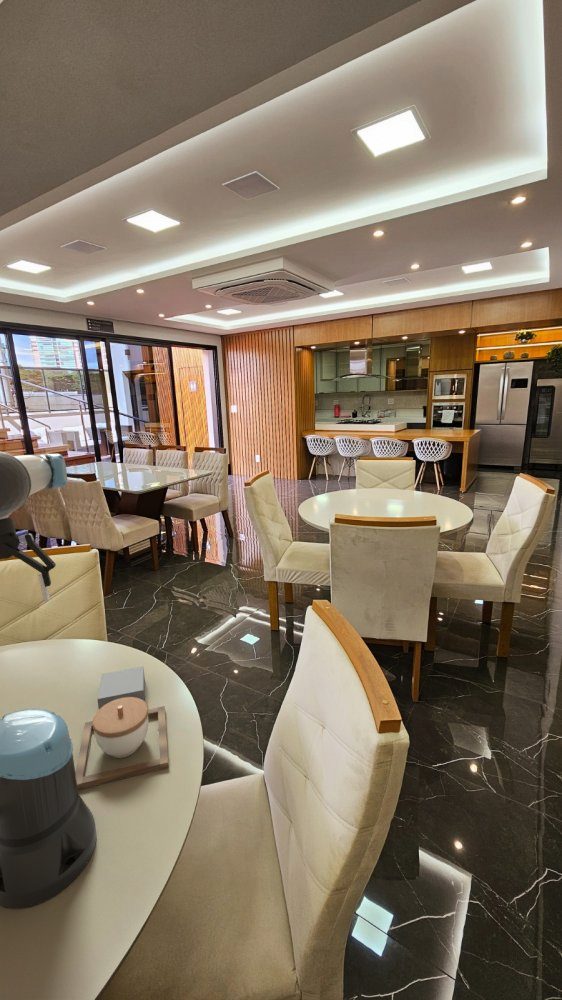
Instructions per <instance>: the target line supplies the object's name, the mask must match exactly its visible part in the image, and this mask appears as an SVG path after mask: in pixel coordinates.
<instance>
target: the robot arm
mask: <svg viewBox="0 0 562 1000" xmlns="http://www.w3.org/2000/svg"><path fill="white" fill-rule="evenodd" d="M66 464H67V463H66V461H65V458H64V456H63V455H62V454H61V453H43V454H41V453H40V454H24V455H13V454H10V453H8V452H3V451H0V560H3V559H4V560H6V559H10V558H12V557H15V558H17V559H19V560H20V561H21V562H24V563H25V564H26V565H28V566H29V567H31V568H32V569H35V570H36V571H37V572H39V574H37V577H38V582H39V585H40V589H41V593H42V598H43V601H44V603H48V602H49V601H50V600H51V597H50V594H49V590H48V589H49V588H48V587H50V586H51V584H52V580H51V577H50V571H51V570H54V568H56V565H57V564H56V562H54V560H53V559H52V558H51V557H50V556H49V555H48V554H47V553H46V552H45V551H44V550H43V548H42V547H41V546H40V544H38V543H37V542H36V540H35V538H34V535H33V534H32V533H30V532H29V533H27V534H25V535H22V536H18V535H17V532H16V527H15V523H14V519H13V518H12V517H10V515H12V513H13V512H15V511H17V510H18V509H20V508H21V507H22V506H24V504H25V503H26V502H27V500H28V499H29V497H30V496H32V495H33V494H36V493H37V492H39V491H41V490H42V491H43V490H54V489H60V488H64V487H65V486H66V485H67V482H68V474H67V465H66ZM21 542H22V543H23V544H24V545H27V546H28V547H29V549H31V551H32V552H33V553H34V554H35V555H36V556H37V557H38V558H39V559H40V560H41V561H42V562H43V563H44V564H43V563H41V562H39V561H38V560H36V559H35V558H34V557H32V556H30V555H29V554H28V553H25V551H23V550H22V549H20V548H19V546H20V544H21ZM73 751H74V746H73V741H72V738H71V737H70V732H69V729H68V725H67V723H66V721H65V719H64V718H63V717H62V716H61V715H58V714H56V713H55V711H54V712H53V711H51V710H48V709H45V708H29V709H28V708H25V709H20V710H15V711H13V712H8V713H6V714H4V715H3V716H2V717H1V719H0V906H2V907H4V908H9V909H22V908H29V907H33V906H36V905H39V904H41V903H43V902H46V901H48V900H50V899H51V898H53V897H55V896H56V895H58V894H60V893H61V892H62V891H64V890H65V889H66V888H67V887H68V886H70V885H71V884H72V883H73V882H74V881H75V880H76V878H78V876H79V875H80V874H81V873H82V871H83V870H84V869H85V868H86V866H87V865H88V863H89V862H90V860H91V857H92V855H93V853H94V851H95V848H96V845H97V844H96V843H97V827H96V822H95V817H94V815H93V812H92V811H91V809H90V808H89V807H88V805H87V804H86V802H85V800H83V798H82V797H81V796H80V794H79V790H78V788H77V781H76V774H75V772H76V767H75V761H74V754H73Z"/></svg>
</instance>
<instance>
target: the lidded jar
mask: <svg viewBox="0 0 562 1000" xmlns="http://www.w3.org/2000/svg"><path fill="white" fill-rule="evenodd" d="M148 709H149V705H148V704H147V703H146V701H145V702H144V701H143V700H141V699H139V698H135V697H125V698H120V699H116V700H113V701H111V702H109V703H107V704H106V705H104V706H103V707H101V708H100V709H99V708H98V710H97V712H96V713H95V714H94V715H93V718H92V720H91V721H92V724H93V729H94V730H93V732H94V733H93V734H94V737H95V740H96V743H97V745H98V746H99V748H100V750H102V752H103V753H105V754H106V755H109V756H111V757H112V758H115V759H118V758H119V759H121V758H126V757H129V756H130V755H132V754H134V753H135V752H136V751H137V750H138V749H139V747H140V746H141V745H142V744H143V742H144V741H145V738H146V737H147V733H148V730H149V718H148Z"/></svg>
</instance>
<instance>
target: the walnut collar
mask: <svg viewBox="0 0 562 1000" xmlns="http://www.w3.org/2000/svg"><path fill="white" fill-rule="evenodd" d="M151 718H157V719H158V745H159V757H158V758H155V759H152V760H148V761H143V762H138V763H133V764H130V765H126V766H121V767H117V768H113V769H111V770H105V771H101V772H97V773H94V774H89V775H86V771H87V770H86V769H87V763H88V757H89V751H90V745H91V740H92V739H91V738H92V732H93V731H94V729H93V724H92V721H93V720H91V721H86V722H84V725H83V730H82V734H81V735H82V737H81V741H80V746H79V747H80V748H79V752H78V756H77V757H78V758H77V762H76V765H75V766H76V767H75V774H76V781H77V788H78V791H79V790H82V789H86V788H87V789H88V788H90V787H95V786H99V785H102V784H107V783H110V782H115V781H118V780H122V779H127V778H132V777H135V776H140V775H144V774H147V773H151V772H155V771H160V770H162V769H163V770H164V769H166V768H167V769H168V768H169V754H168V752H169V751H168V737H167V722H166V706H165V705H162V706H157V707H153V708H148V719H151Z"/></svg>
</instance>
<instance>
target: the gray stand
mask: <svg viewBox="0 0 562 1000" xmlns="http://www.w3.org/2000/svg"><path fill="white" fill-rule="evenodd" d="M144 668H145V667H144V666H138V667H132V668H131V667H130V668H126V669H121V670H115V671H111V672H109V671H108V672H106V673H101V674H100V675H101V676H100V680H99V681H100V682H99V688H98V693H97V706H98V708H97V709H98V710H99V709H100V708H101V707H103V706H104V705H106V704H107V703H109V702H111V701H113V700H116V699H120V698H125V697H135V698H139V699H141V700H143V701H144V702H145V703H146V686H145V685H146V678H145V677H146V676H145V669H144Z"/></svg>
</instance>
